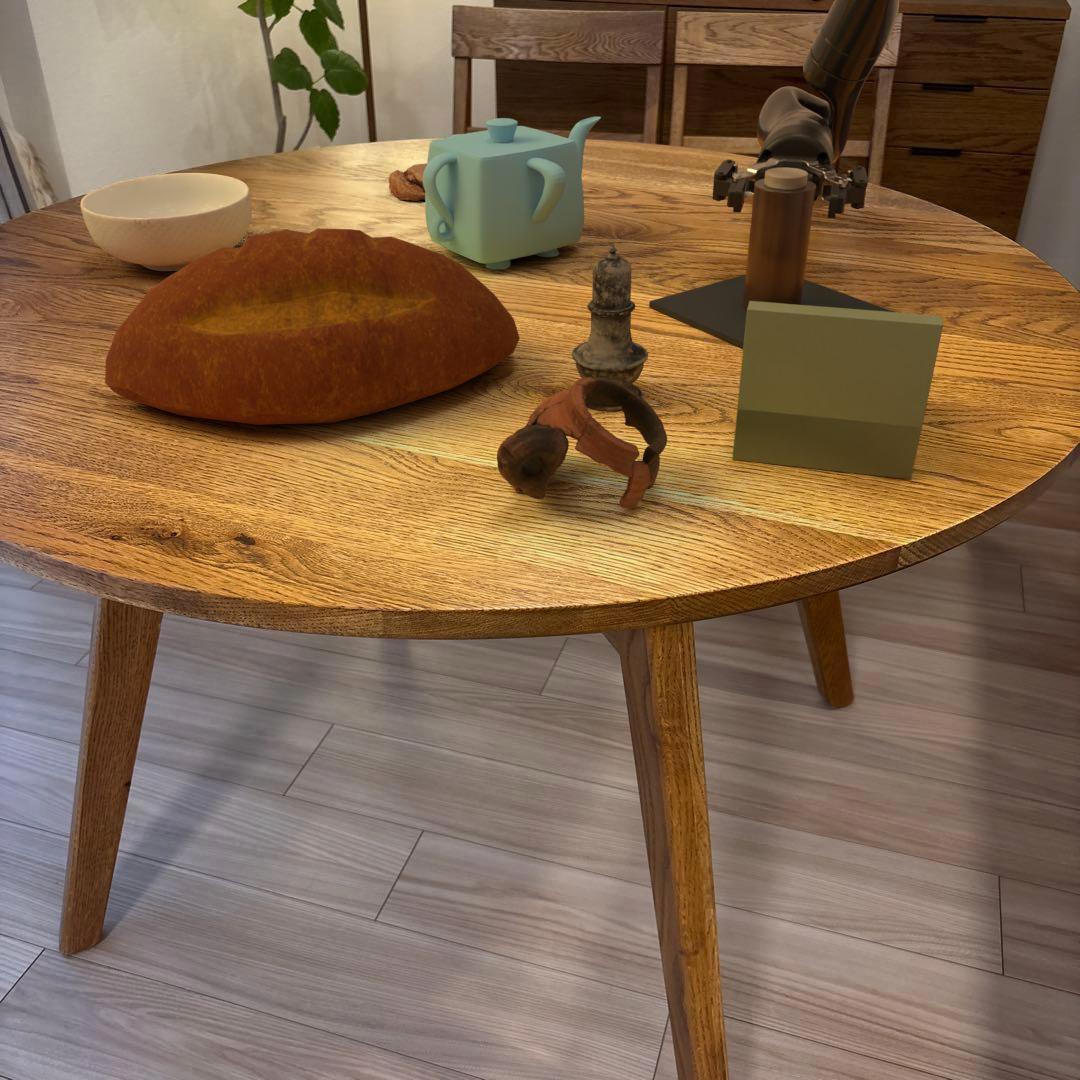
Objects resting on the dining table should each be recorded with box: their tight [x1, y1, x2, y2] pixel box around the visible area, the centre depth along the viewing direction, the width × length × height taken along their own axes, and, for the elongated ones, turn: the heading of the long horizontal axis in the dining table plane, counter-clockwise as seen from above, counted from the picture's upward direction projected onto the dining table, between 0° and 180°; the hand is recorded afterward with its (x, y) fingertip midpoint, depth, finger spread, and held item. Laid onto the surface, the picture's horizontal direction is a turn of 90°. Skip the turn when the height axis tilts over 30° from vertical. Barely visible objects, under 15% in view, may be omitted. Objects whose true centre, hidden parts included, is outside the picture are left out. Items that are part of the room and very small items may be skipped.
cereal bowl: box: [80, 172, 253, 272], centre depth 109 cm, size 17×17×7 cm
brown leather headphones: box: [496, 376, 668, 510], centre depth 68 cm, size 12×10×8 cm
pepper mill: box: [743, 168, 816, 310], centre depth 93 cm, size 5×5×12 cm
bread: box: [104, 228, 521, 426], centre depth 81 cm, size 21×33×12 cm, turn 100°
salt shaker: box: [571, 244, 649, 412], centre depth 78 cm, size 6×6×12 cm
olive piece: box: [731, 301, 944, 480], centre depth 73 cm, size 12×12×11 cm
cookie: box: [388, 163, 427, 202], centre depth 132 cm, size 10×11×3 cm
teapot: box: [423, 116, 602, 271], centre depth 109 cm, size 18×16×14 cm
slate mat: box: [648, 273, 895, 349], centre depth 96 cm, size 16×16×1 cm
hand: (784, 204), depth 95 cm, fingers open, 8 cm apart
